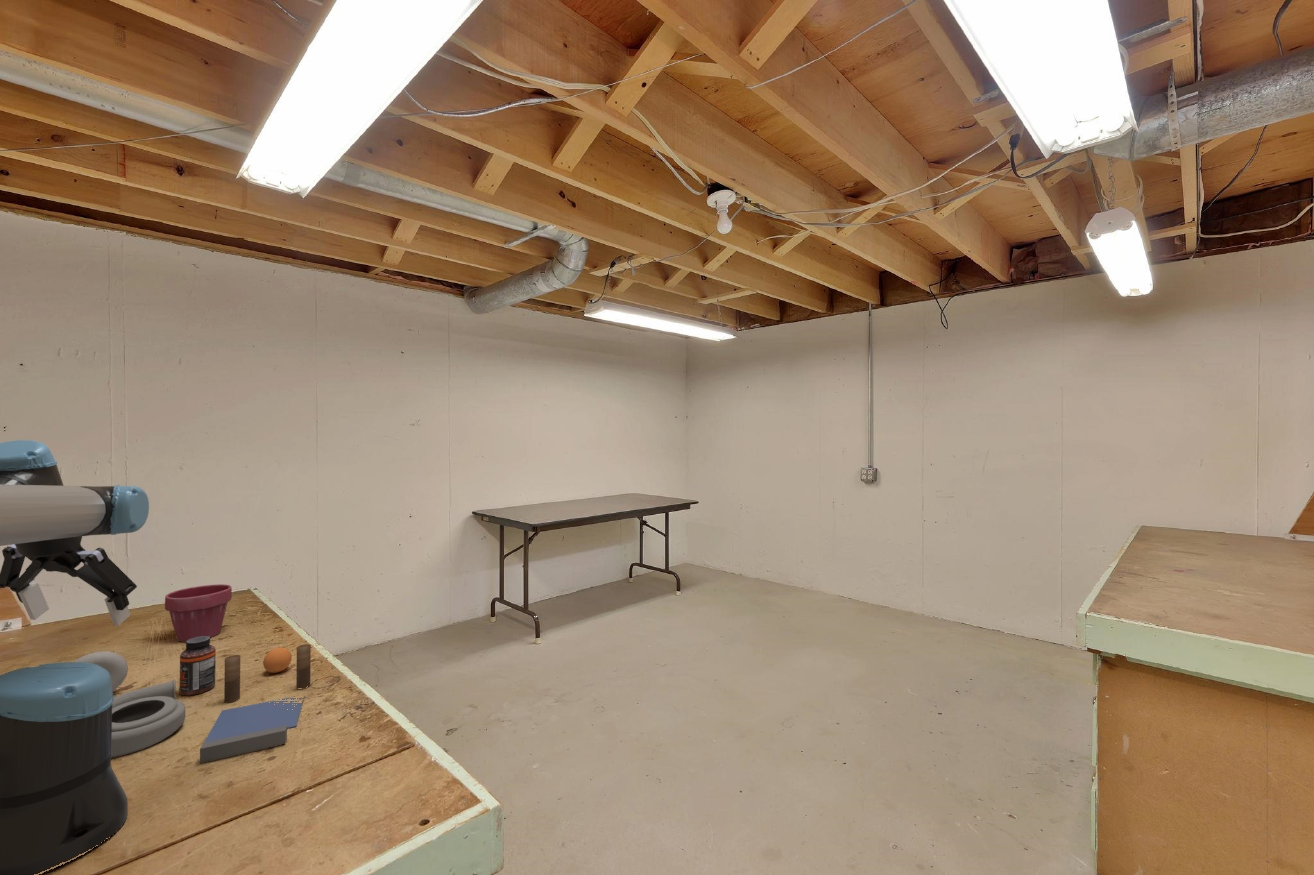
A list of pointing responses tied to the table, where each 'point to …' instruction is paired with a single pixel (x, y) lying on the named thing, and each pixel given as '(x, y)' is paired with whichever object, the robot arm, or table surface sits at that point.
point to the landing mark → (255, 719)
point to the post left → (232, 678)
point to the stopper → (242, 744)
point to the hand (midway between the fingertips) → (81, 617)
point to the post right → (303, 666)
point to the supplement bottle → (197, 666)
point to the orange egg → (277, 660)
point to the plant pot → (198, 610)
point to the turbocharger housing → (145, 718)
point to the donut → (109, 665)
